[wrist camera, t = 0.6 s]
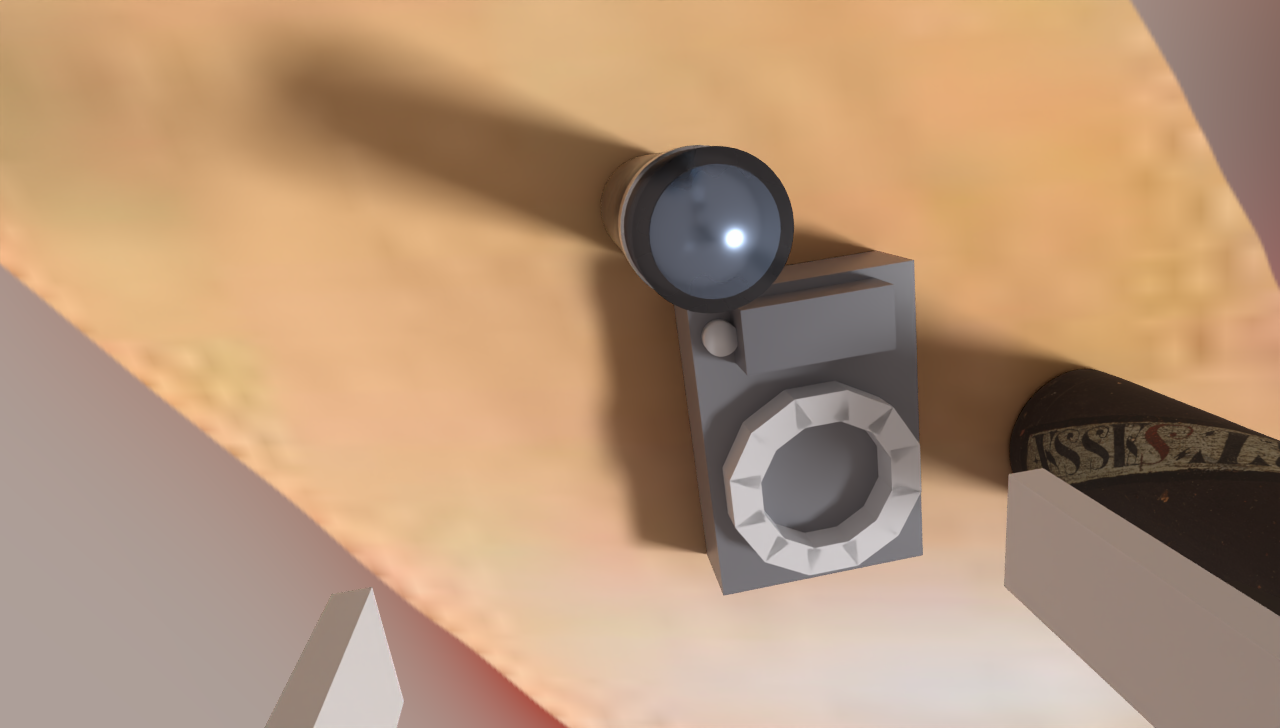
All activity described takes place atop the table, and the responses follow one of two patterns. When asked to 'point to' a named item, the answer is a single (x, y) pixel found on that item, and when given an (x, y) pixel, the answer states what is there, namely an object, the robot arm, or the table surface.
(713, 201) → the lens
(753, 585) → the camera body
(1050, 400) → the container
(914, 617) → the table surface
